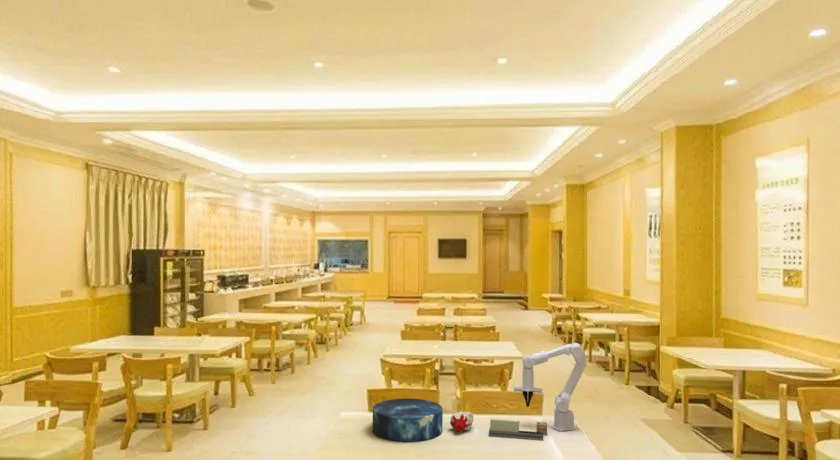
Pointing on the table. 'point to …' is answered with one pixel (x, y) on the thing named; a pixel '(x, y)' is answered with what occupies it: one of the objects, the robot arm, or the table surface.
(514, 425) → the pale green long bar
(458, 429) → the rock with red coral
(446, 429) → the table surface
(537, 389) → the robot arm
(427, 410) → the cylinder
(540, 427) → the block
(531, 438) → the track
